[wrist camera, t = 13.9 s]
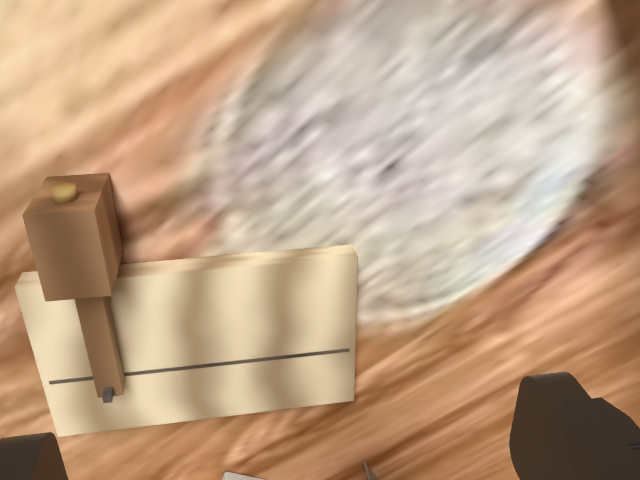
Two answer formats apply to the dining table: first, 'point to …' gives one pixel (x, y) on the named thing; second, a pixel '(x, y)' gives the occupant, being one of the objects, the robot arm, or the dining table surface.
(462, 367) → the dining table surface
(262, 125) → the dining table surface
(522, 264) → the dining table surface
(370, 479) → the grey storage bin
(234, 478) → the skincare box
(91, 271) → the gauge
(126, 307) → the board
